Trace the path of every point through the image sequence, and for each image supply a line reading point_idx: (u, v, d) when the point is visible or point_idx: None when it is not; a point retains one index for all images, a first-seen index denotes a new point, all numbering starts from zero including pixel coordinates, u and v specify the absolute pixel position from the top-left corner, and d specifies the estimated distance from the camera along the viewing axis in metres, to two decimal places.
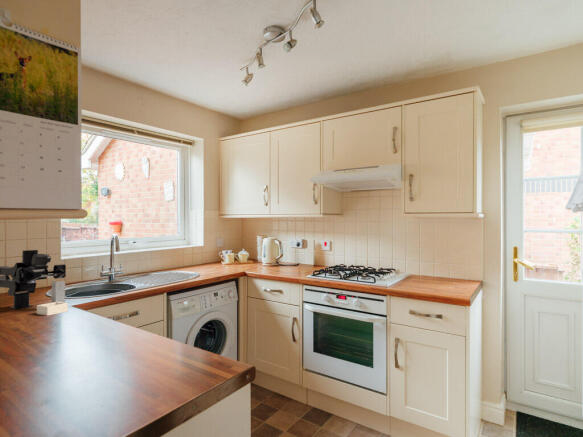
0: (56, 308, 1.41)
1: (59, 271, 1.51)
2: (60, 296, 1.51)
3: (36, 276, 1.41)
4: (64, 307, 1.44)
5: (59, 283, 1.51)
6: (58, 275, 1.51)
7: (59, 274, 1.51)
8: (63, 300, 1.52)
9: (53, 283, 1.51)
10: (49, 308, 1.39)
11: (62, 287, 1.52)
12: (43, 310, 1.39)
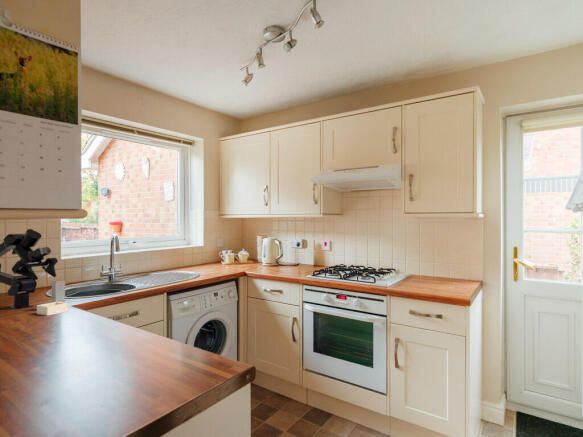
0: (56, 308, 1.41)
1: (51, 270, 1.59)
2: (60, 296, 1.51)
3: (32, 277, 1.49)
4: (64, 307, 1.44)
5: (59, 283, 1.51)
6: (48, 271, 1.59)
7: (49, 272, 1.59)
8: (63, 300, 1.52)
9: (53, 283, 1.51)
10: (49, 308, 1.39)
11: (62, 287, 1.52)
12: (43, 310, 1.39)
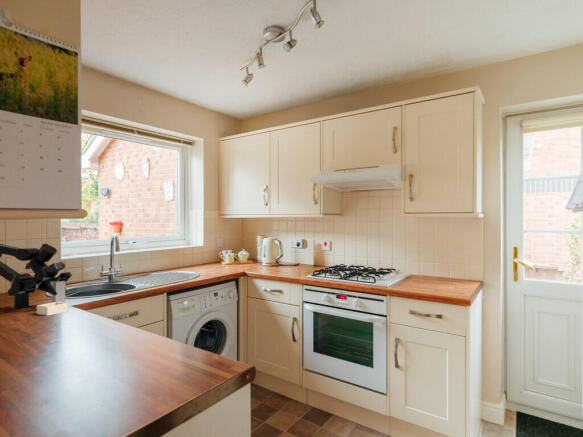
0: (56, 308, 1.41)
1: None
2: (60, 296, 1.51)
3: (51, 292, 1.49)
4: (64, 307, 1.44)
5: (59, 283, 1.51)
6: None
7: None
8: (63, 300, 1.52)
9: (53, 283, 1.51)
10: (49, 308, 1.39)
11: (62, 287, 1.52)
12: (43, 310, 1.39)
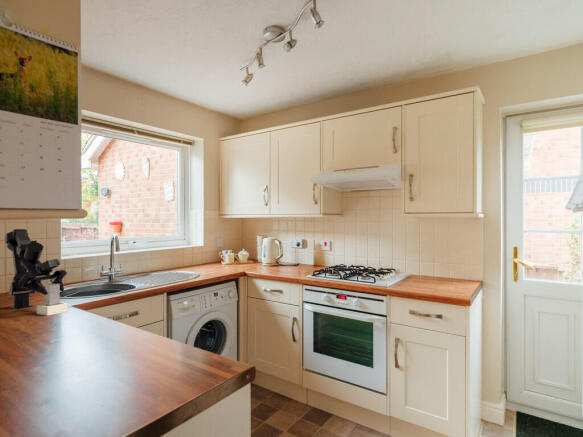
0: (56, 308, 1.41)
1: (58, 283, 1.48)
2: (54, 299, 1.43)
3: (41, 291, 1.39)
4: (64, 307, 1.44)
5: (53, 286, 1.43)
6: None
7: None
8: (57, 304, 1.44)
9: (47, 286, 1.42)
10: (49, 308, 1.39)
11: (56, 290, 1.44)
12: (43, 310, 1.39)
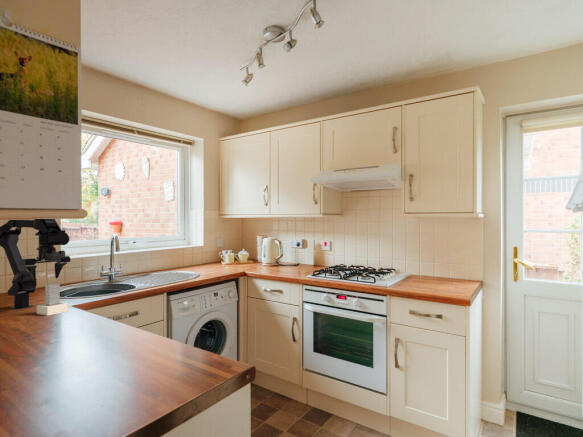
0: (56, 308, 1.41)
1: (57, 270, 1.57)
2: (54, 299, 1.43)
3: (31, 276, 1.48)
4: (64, 307, 1.44)
5: (53, 286, 1.43)
6: (55, 267, 1.58)
7: (55, 270, 1.57)
8: (57, 304, 1.44)
9: (47, 285, 1.42)
10: (49, 308, 1.39)
11: (56, 290, 1.44)
12: (43, 310, 1.39)
